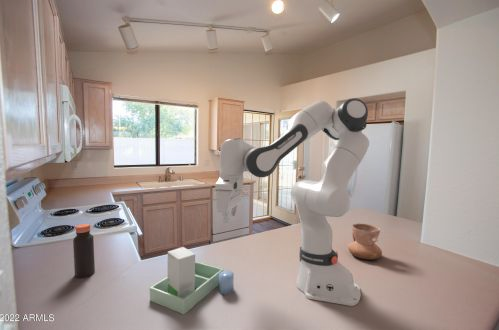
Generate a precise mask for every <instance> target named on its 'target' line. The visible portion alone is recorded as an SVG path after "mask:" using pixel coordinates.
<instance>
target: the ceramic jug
mask: <svg viewBox="0 0 499 330" xmlns="http://www.w3.org/2000/svg"><path fill="white" fill-rule="evenodd" d="M351 231H352V240H353V241H352V242H350V243H349V245H348V252H349V253H350V254H351V255H352V256H354V257H356V258H359V259H362V260H366V261H367V260H368V261H370V260H371V261H372V260H378V259H379V258H381V257H382V255H383V251H382V249H381V248H380V246H379V245H377V244H376V243H377V242H379V240H378V239H379V236H380V232H381V229H380V227H378V226H374V225H371V224H367V223H360V222H359V223H357V222H356V223H353V224H352V225H351Z"/></svg>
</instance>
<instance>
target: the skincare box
mask: <svg viewBox="0 0 499 330" xmlns="http://www.w3.org/2000/svg"><path fill="white" fill-rule="evenodd" d="M195 261H196V254H195V253H194V252H192V251H191V250H190V249H187V248H186V247H184V246H181V247H178V248H175V249H172V250H169V251H167V277H168V280H167V291H166V292H167V293H169V294H172V295H175V296H177V297H180V298H183V299H184V298H186V297H187V296H188V295H189V294H191V293H192V292H193V291H194V290H196V289H195Z"/></svg>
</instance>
